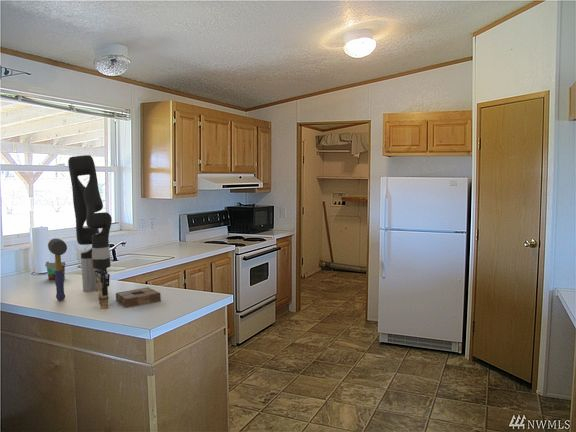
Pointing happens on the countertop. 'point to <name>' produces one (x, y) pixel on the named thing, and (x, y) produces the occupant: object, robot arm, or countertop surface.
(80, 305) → the countertop surface
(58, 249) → the rubber mallet
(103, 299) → the oak peg
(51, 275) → the food container
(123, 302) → the walnut board
